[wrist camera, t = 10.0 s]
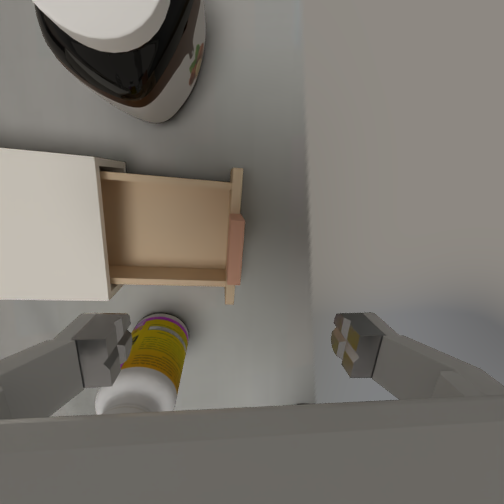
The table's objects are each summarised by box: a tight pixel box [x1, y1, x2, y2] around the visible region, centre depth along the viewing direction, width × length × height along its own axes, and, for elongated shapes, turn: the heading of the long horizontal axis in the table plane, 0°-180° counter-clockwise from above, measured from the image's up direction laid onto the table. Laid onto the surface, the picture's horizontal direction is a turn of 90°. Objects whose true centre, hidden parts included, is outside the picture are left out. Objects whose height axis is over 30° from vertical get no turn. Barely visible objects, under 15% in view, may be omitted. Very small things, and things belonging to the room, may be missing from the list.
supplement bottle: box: [95, 314, 189, 415], centre depth 23 cm, size 7×7×13 cm
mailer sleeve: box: [0, 148, 126, 301], centre depth 21 cm, size 16×12×6 cm
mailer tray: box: [100, 168, 245, 305], centre depth 21 cm, size 16×12×9 cm
